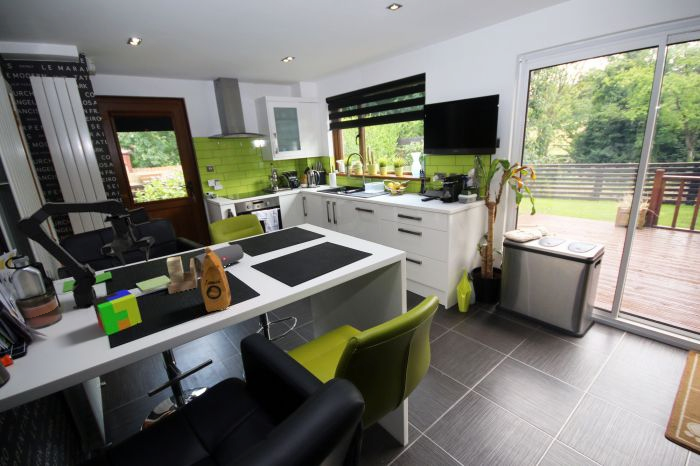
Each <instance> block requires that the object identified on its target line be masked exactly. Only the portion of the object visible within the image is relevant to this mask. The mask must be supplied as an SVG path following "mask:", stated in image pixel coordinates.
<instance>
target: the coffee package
mask: <svg viewBox="0 0 700 466" xmlns="http://www.w3.org/2000/svg"><path fill="white" fill-rule="evenodd" d="M212 250H213V249H211V247H209V246H207V247H206V248H204V253H207V255H206V256H205V257H204V261H203V263H202V266H201V273H200V290H201V295H202V298H203V302H204V305H205V309H206V311H207V312H208V313H209V312H210V311H215V310H220V311H221V309H224V308H226V307H228V306H229V305H231V301H232V296H231V295H232V294H231V290H230V285H229V282H228V277H227V275H226V272H225V268H223V266H222V263H221V261H220V259H219V258H218V256H217V255H216V254H215V253H214V252H213V251H212ZM229 307H230V306H229Z"/></svg>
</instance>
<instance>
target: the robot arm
mask: <svg viewBox="0 0 700 466" xmlns="http://www.w3.org/2000/svg"><path fill="white" fill-rule="evenodd" d="M71 213H72V214H76V213H77V214H78V213H83V214H85V213H98V214H103V215H105V218H104V219H103V223H108V222H110V225H111V227H112V230H113V233H114V234H113V238H114V239H113V241H112V242H110V243H107V244H105V245H103V246H102V247H101V248H100V252H101V255H106V256H111V257H113V258H114V259H116V261H117V262H119V264H120V265H121V266H122V267H125V266H126V262H125V259H124V255H123V252H125V251H127V250H128V248H130V247H131V248H132V247H137V246H139V250H140V251H142V255H143V257H144V260H145V262H146V263H147V262H148V261H149V255H150V248H151V246H152V245H153V244H155V242H156V240H155V237H153V236H152V235H151V236H143V237H142V238H141V239H139V240H138V238H137V237H135V236H134V234H133V231H134V229H133V228H131V225H134V226H136V227H137V226H140V225H143V224H149V223H151V220H150V216H149V214H148V213H147V211H146V208H145V207H144V206H143V207H142V206H141V207H139V208H135V209H131V210H130V209H128V208H126V207H125V206H123V204H122V202H120V201H119V200H117V199H115V198H110V199H102V200H97V201H89V202H88V201H86V202H82V201H81V202H77V201H76V202H75V201H74V202H52V201H51V202H50V201H48V202H45V203H44V204H43V205H42V206H41V207H40V208H38V209H37V210H36V211H35V212H34V213H32V215H30V216H24V217H22V218H21V219H19V220H18V222H17V223H16V227H15V228H16V230H17V232H18V233H19V234H21V235H23V236H24V237H25V238H28V239H29V240H32V241H34V242H35V243H37V244H38V245H39V246H41V247H42V248H43V249H44V250H45V251H47V253H48V254H50V255H51V256H52V258H54V259H55V260H56V261H57V262H58V263H59V264H61V265H62V266H63V267H64V268H65V270H67V271H68V272H69V273H70V275H71V277H72V279H73V280H74V282H73V284H72V290H71V291H72V296H73V299H74V303H75V305H74V306H72V309H85V308H87V309H88V308H90V307H92V306H93V302H92V300H94V299H97V298H98V297H97V293H96V290H95V287H94V285H95V284H96V283H97V276H96V270H95V269H94V268H91V266H90V265H89V264H88V263H86V264H82V263H80V262H78V261H77V260H76V259H75V258H74V257H73V256H72V255H71V254H70V253H69V252H68V251H66V249H64V247H63V246H61V245H60V244H59V243H58V242H57V241H56V240H55V239H54V238H53V237H52V236H51V235H50V234H49V232H48V230H47V229H46V227H45V226H44V225H43V223H44V222H45V221H47V220H48V219H49V218H50V217H51V216H52V215H54V214H71ZM129 222H130V223H129Z"/></svg>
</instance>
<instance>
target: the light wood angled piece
mask: <svg viewBox="0 0 700 466" xmlns="http://www.w3.org/2000/svg"><path fill="white" fill-rule="evenodd" d="M197 273H198V272H197V271H196V268H195V263H194V257H191V258H190V262H189V271H185V272H184V276H185V282H180V283H174V284H171V280H170V284H168V285H166V286H167V290H168V294H171V295H172V294H177V293H180V291H182V292H185V290H187V291H190V290H189V289H192V290H194V289H193V288H196V289H198V275H197ZM176 292H177V293H176Z"/></svg>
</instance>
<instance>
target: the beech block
mask: <svg viewBox="0 0 700 466" xmlns="http://www.w3.org/2000/svg"><path fill="white" fill-rule="evenodd" d="M166 265H167V270H168V275H169V279H170V280H171V284H174V283H180V282H185V276H184V266H183V262H182V257H181V255H179V256H174V257H173V256H172V257H167V259H166Z"/></svg>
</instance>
